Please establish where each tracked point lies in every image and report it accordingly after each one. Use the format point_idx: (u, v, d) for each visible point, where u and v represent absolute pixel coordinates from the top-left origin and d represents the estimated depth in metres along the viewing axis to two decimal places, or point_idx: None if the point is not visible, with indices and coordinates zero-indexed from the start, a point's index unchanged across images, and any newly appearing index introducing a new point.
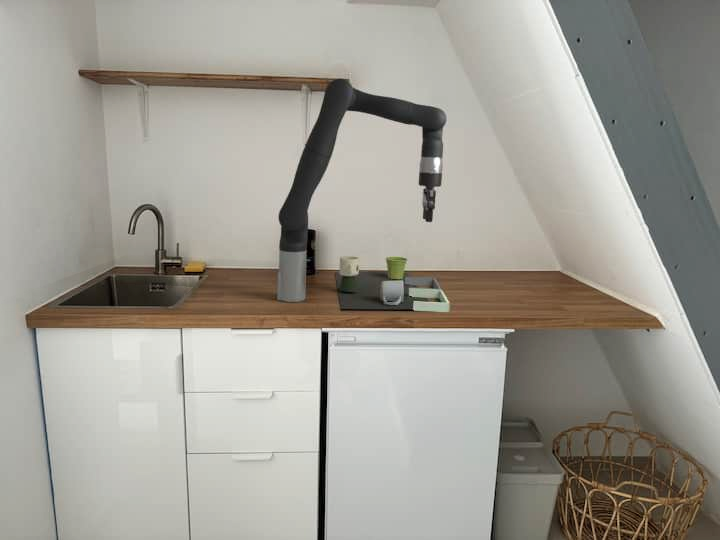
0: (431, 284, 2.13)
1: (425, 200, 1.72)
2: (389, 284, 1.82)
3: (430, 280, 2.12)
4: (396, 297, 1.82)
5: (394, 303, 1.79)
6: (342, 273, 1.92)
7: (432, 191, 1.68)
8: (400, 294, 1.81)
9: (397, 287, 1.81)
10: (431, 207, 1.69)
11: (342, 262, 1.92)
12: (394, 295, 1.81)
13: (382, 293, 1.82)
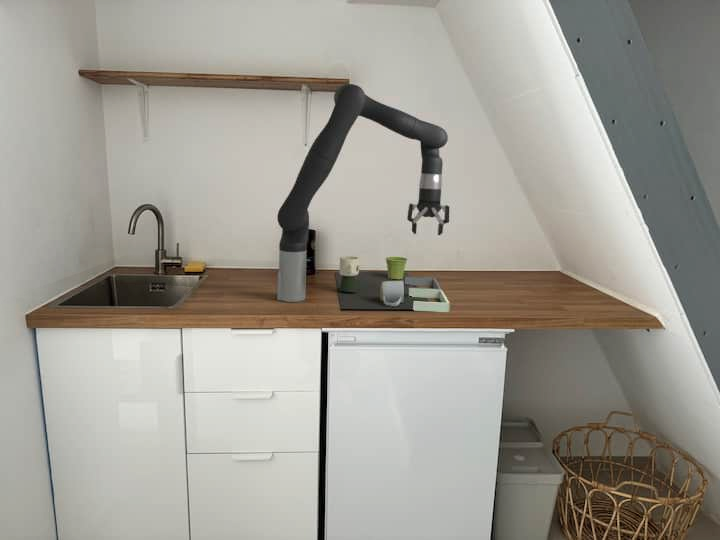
0: (431, 284, 2.13)
1: (439, 215, 1.81)
2: (389, 284, 1.82)
3: (430, 280, 2.12)
4: (396, 297, 1.81)
5: (394, 303, 1.78)
6: (342, 273, 1.92)
7: (448, 206, 1.82)
8: (400, 294, 1.80)
9: (397, 287, 1.81)
10: None
11: (342, 262, 1.92)
12: (394, 295, 1.81)
13: (382, 293, 1.81)
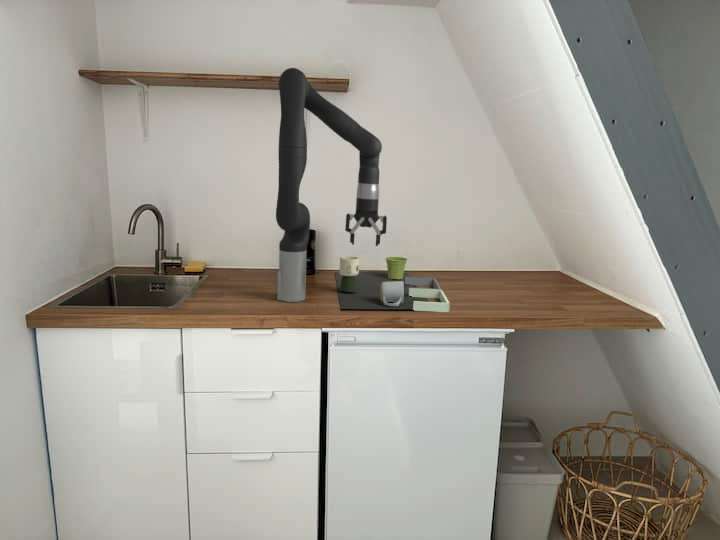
0: (431, 284, 2.13)
1: (376, 226, 1.78)
2: (389, 285, 1.81)
3: (430, 280, 2.12)
4: (396, 298, 1.80)
5: (394, 304, 1.78)
6: (342, 273, 1.92)
7: None
8: (400, 295, 1.80)
9: (397, 288, 1.80)
10: None
11: (342, 262, 1.92)
12: (394, 296, 1.80)
13: (382, 294, 1.81)
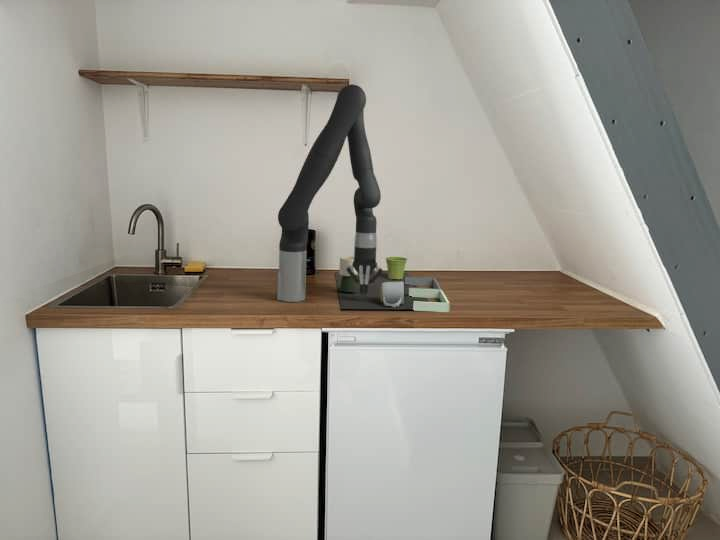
0: (431, 284, 2.13)
1: None
2: (389, 285, 1.80)
3: (430, 280, 2.12)
4: (396, 298, 1.80)
5: (394, 304, 1.77)
6: (342, 273, 1.92)
7: None
8: (400, 295, 1.79)
9: (397, 288, 1.79)
10: None
11: (342, 262, 1.92)
12: (394, 296, 1.80)
13: (382, 294, 1.80)
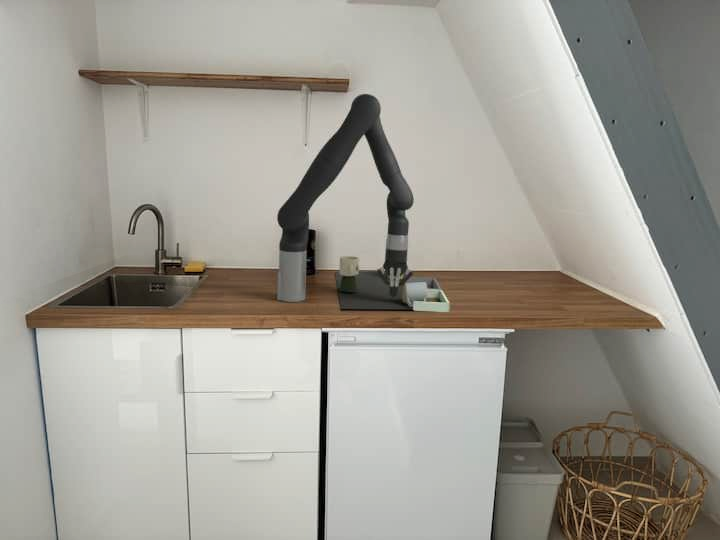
0: (431, 284, 2.13)
1: (399, 278, 1.81)
2: (412, 286, 1.80)
3: (430, 280, 2.12)
4: (420, 299, 1.80)
5: None
6: (342, 273, 1.92)
7: None
8: (424, 296, 1.79)
9: (421, 289, 1.80)
10: None
11: (342, 262, 1.92)
12: (418, 297, 1.79)
13: (406, 295, 1.79)
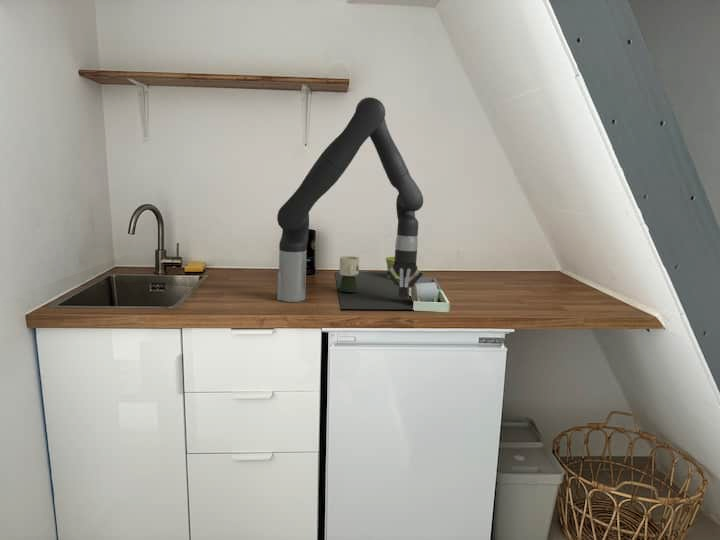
0: None
1: None
2: (422, 286, 1.80)
3: (430, 280, 2.12)
4: (430, 299, 1.80)
5: None
6: (342, 273, 1.92)
7: None
8: (434, 296, 1.80)
9: (431, 289, 1.80)
10: None
11: (342, 262, 1.92)
12: (428, 297, 1.80)
13: (416, 296, 1.80)
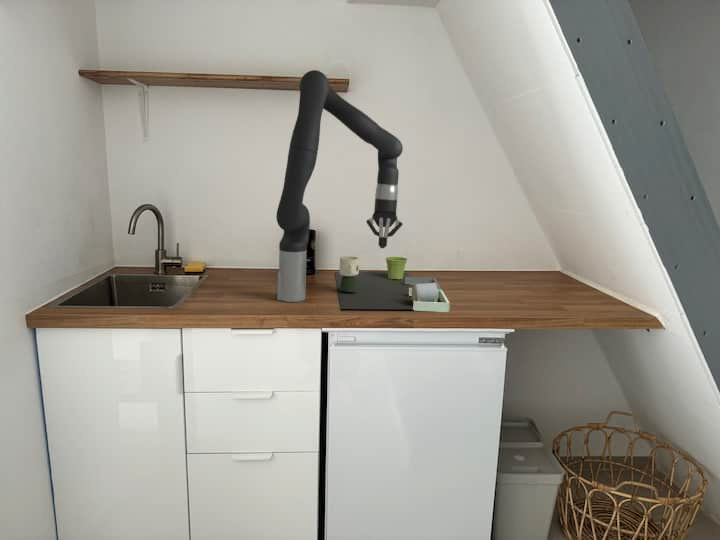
0: None
1: (388, 228, 1.80)
2: (423, 287, 1.80)
3: (430, 280, 2.12)
4: (431, 300, 1.80)
5: None
6: (342, 273, 1.92)
7: None
8: (435, 297, 1.79)
9: (431, 290, 1.80)
10: None
11: (342, 262, 1.92)
12: (429, 298, 1.79)
13: (416, 296, 1.79)
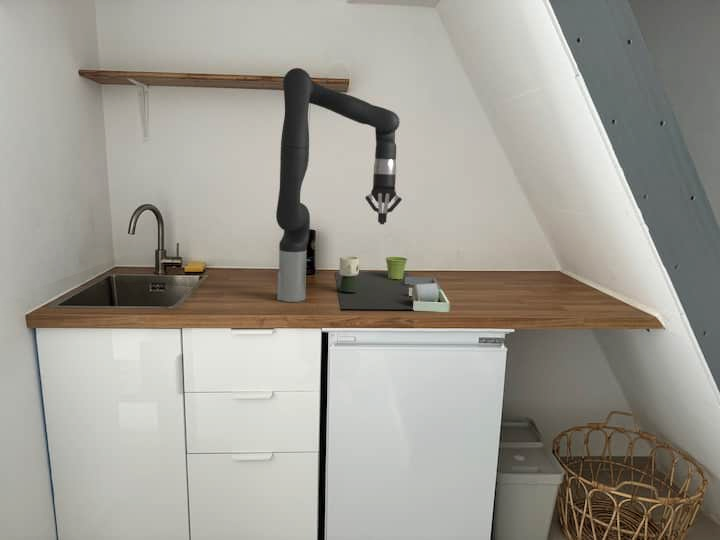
0: None
1: None
2: (423, 287, 1.80)
3: (430, 280, 2.12)
4: (431, 300, 1.79)
5: None
6: (342, 273, 1.92)
7: None
8: (435, 297, 1.79)
9: (432, 290, 1.79)
10: None
11: (342, 262, 1.92)
12: (429, 298, 1.79)
13: (417, 297, 1.79)
